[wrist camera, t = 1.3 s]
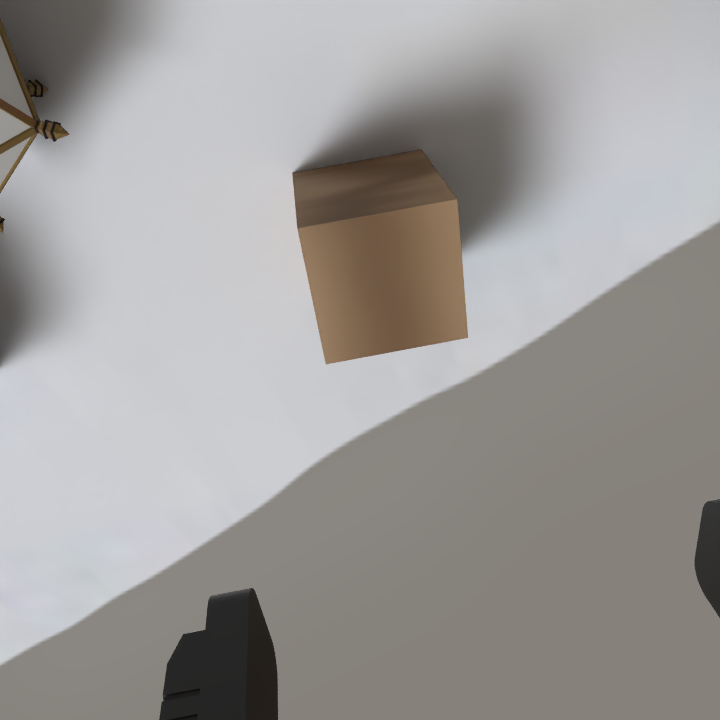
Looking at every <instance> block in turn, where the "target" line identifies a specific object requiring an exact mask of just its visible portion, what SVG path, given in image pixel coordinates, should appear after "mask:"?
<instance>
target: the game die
mask: <svg viewBox="0 0 720 720" xmlns="http://www.w3.org/2000/svg"><path fill="white" fill-rule="evenodd" d="M47 90H48V89H47V88H46V87H44V86H43V85H42V84H41V83H40V82H39V81H38V80H35V81H31V80H29V81H28V83H25V81H24V79H23V76H22V73H21V71H20V68H19V66H18V63H17V61H16V58H15V56H14V53H13V51H12V48H11V45H10V43H9V40H8V38H7V35H6V33H5V30H4V28H3V25H2V23H1V20H0V193H1V191H2V189H3V188H4V186H5V185H6V183H7V181H8V180H9V178H10V177H11V175H12V173H13V172H14V170H15V169H16V167H17V165H18V164H19V162H20V161H21V159H22V157H23V156H24V154H25V153H26V151H27V149H28V148H29V146H30V145H31V143H32V141H33V140H34V138H35V137H36V135H37V133H40V134H42V135H43V136H44V137H45V139H48V138H51V139H53V141H54V142H55V141H56V140H57V139H59V138H62V137H64V136H67V135H70V134H69V133H68V132H67V131H66V130H65V129H64V128H63V127H62V126H61V123H58V122H51V121H48V120H45V121H43V122H41V121H40V120H39V117H38V114H37V112H36V109H35V107H34V104H33V102H32V99H31V97H34V96H35V97H43V94H44V93H45V92H46V91H47ZM4 220H5V219H4V218H1V217H0V232H2V233H3V221H4Z"/></svg>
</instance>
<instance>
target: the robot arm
mask: <svg viewBox="0 0 720 720" xmlns="http://www.w3.org/2000/svg"><path fill="white" fill-rule="evenodd" d="M695 570H696V575H697V579H698V582H699V584H700V587H701V589H702V591H703V593H704V594H705V596H706V598H707V599H708V601H709V602H710V604H711V605H712V607H713V608H714V610H715V611H716V613H717V614H718V616H719V617H720V499H718V500H714V501H708V502H706V503H705V505H704V507H703V511H702V517H701V523H700V530H699V536H698V542H697V548H696V555H695ZM277 681H278V680H277V665H276V658H275V651H274V646H273V642H272V639H271V636H270V633H269V630H268V627H267V624H266V622H265V618H264V616H263V613H262V610H261V607H260V604H259V601H258V598H257V595H256V593H255V590H254V589H253V588H249V589H244V590H240V591H234V592H229V593H223V594H218V595H213V596H211V597H210V599H209V601H208V608H207V618H206V629H205V630H203V631H198V632H193V633H188V634H183V636H182V638H181V639H180V641H179V643H178V645H177V647H176V649H175V651H174V653H173V654H172V656H171V658H170V660H169V662H168V664H167V670H166V677H165V683H164V690H163V699H164V700H163V702H162V705H161V713H160V719H159V720H278V683H277Z"/></svg>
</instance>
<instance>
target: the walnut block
mask: <svg viewBox="0 0 720 720" xmlns="http://www.w3.org/2000/svg"><path fill="white" fill-rule="evenodd" d="M292 174H293V185H294V196H295V207H296V217H297V228H298V233H299V238H300V243H301V248H302V252H303V257H304V262H305V267H306V271H307V276H308V281H309V286H310V290H311V295H312V300H313V305H314V310H315V314H316V319H317V324H318V329H319V333H320V338H321V343H322V348H323V352H324V357H325V362H326V364H330V363H335V362H341V361H346V360H351V359H357V358H362V357H367V356H373V355H378V354H383V353H389V352H394V351H400V350H405V349H410V348H416V347H421V346H426V345H432V344H437V343H442V342H448V341H453V340H458V339H464V338H468V331H467V318H466V305H465V292H464V279H463V266H462V253H461V240H460V227H459V214H458V201H457V198H456V196H455V195H454V194H453V192H452V191H451V190H450V188H449V187H448V185H447V184H446V183H445V181H444V180H443V179H442V177H441V176H440V174H439V173H438V172H437V170H436V169H435V168H434V166H433V165H432V163H431V162H430V161H429V159H428V158H427V156H426V155H425V154H424V152H423V151H422V150H416V151H410V152H405V153H400V154H394V155H389V156H383V157H378V158H372V159H367V160H361V161H356V162H350V163H345V164H339V165H334V166H328V167H323V168H317V169H312V170H306V171H301V172H295V173H292Z"/></svg>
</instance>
